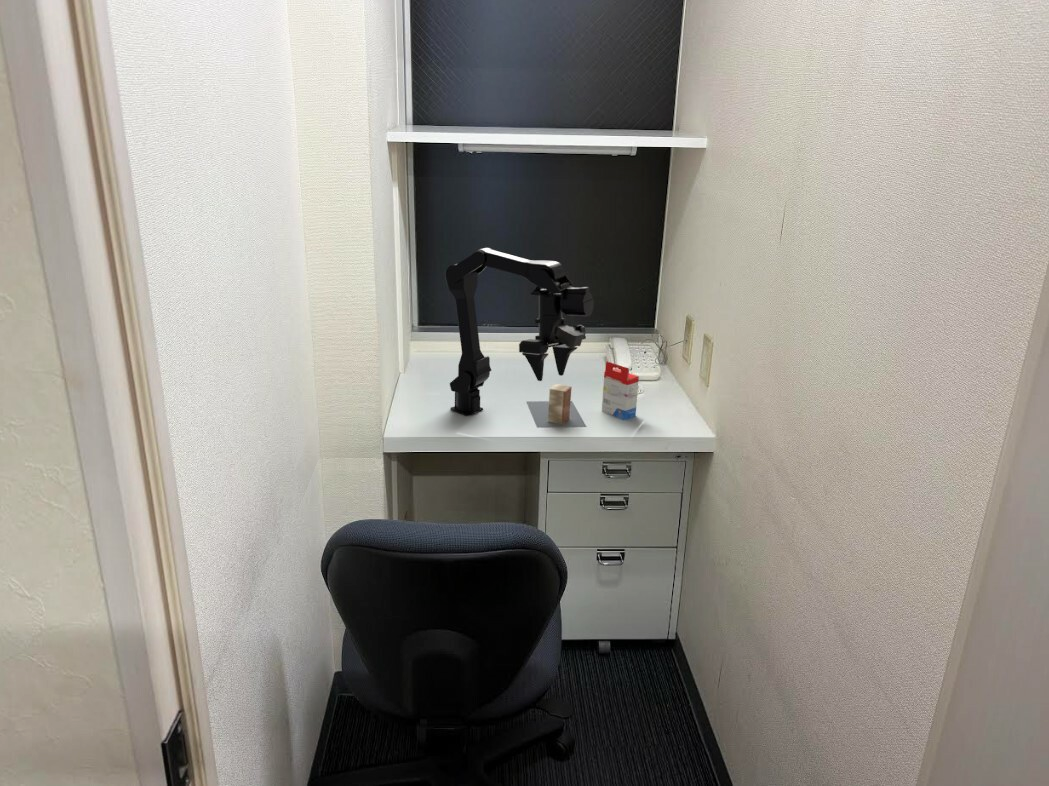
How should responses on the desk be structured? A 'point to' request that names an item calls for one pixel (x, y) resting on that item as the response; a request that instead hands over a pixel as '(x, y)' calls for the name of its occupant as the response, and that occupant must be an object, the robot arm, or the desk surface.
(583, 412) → the desk surface
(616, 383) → the ink box
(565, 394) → the beech block
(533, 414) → the slate mat
